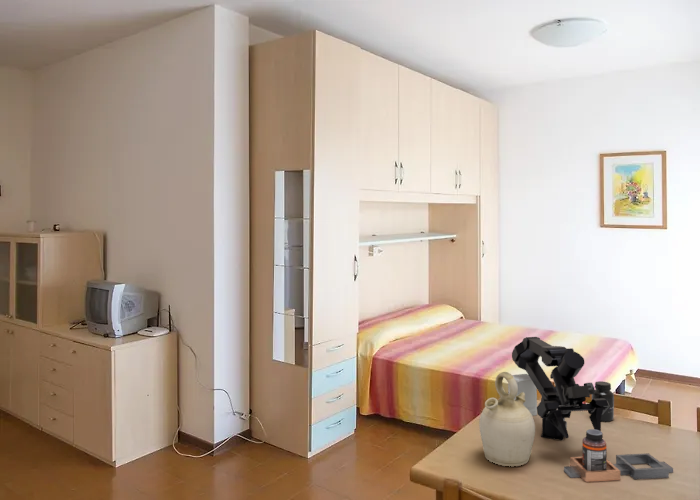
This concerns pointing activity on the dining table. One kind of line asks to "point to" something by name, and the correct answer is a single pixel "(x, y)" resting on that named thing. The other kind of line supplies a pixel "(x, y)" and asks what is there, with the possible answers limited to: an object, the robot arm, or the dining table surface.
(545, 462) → the dining table surface
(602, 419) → the supplement bottle
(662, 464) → the socket rail
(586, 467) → the supplement bottle
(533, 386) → the supplement box
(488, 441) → the jug
